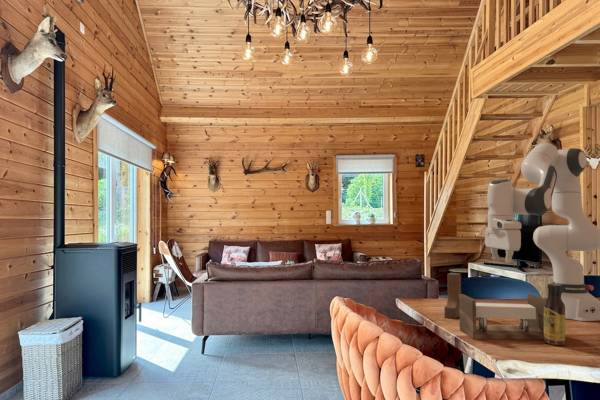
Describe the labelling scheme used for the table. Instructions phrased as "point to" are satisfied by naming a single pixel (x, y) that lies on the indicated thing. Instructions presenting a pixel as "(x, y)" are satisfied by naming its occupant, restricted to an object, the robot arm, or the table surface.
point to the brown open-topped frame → (528, 331)
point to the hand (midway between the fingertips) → (501, 261)
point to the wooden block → (453, 296)
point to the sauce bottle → (554, 316)
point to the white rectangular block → (505, 311)
